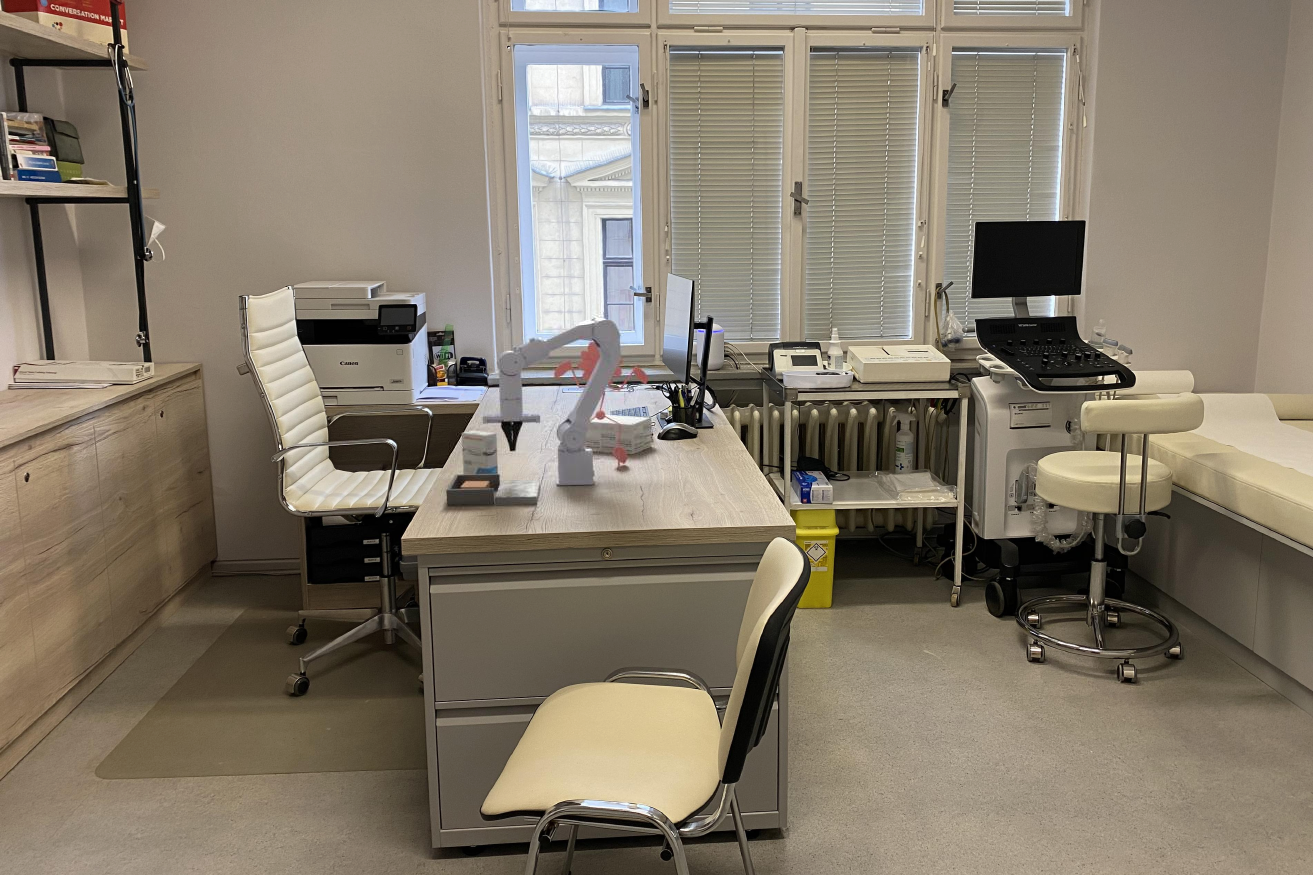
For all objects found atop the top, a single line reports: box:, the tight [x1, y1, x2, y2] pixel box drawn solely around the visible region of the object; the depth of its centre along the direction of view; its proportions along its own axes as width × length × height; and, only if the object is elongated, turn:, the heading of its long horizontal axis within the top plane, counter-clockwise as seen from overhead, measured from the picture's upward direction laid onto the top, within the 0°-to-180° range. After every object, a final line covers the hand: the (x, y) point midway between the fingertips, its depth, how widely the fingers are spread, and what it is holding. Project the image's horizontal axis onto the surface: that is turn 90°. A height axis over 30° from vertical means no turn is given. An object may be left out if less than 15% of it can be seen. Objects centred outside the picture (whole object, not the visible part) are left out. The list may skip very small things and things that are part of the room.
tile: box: [461, 481, 490, 489], centre depth 252 cm, size 6×6×2 cm
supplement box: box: [585, 414, 653, 455], centre depth 307 cm, size 17×13×9 cm
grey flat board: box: [494, 480, 541, 506], centre depth 251 cm, size 10×16×2 cm, turn 3°
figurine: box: [553, 341, 649, 470], centre depth 283 cm, size 15×26×35 cm, turn 95°
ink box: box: [461, 430, 499, 474], centre depth 273 cm, size 8×5×12 cm, turn 59°
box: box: [445, 473, 501, 507], centre depth 250 cm, size 11×16×4 cm
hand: (512, 450), depth 260 cm, fingers closed
